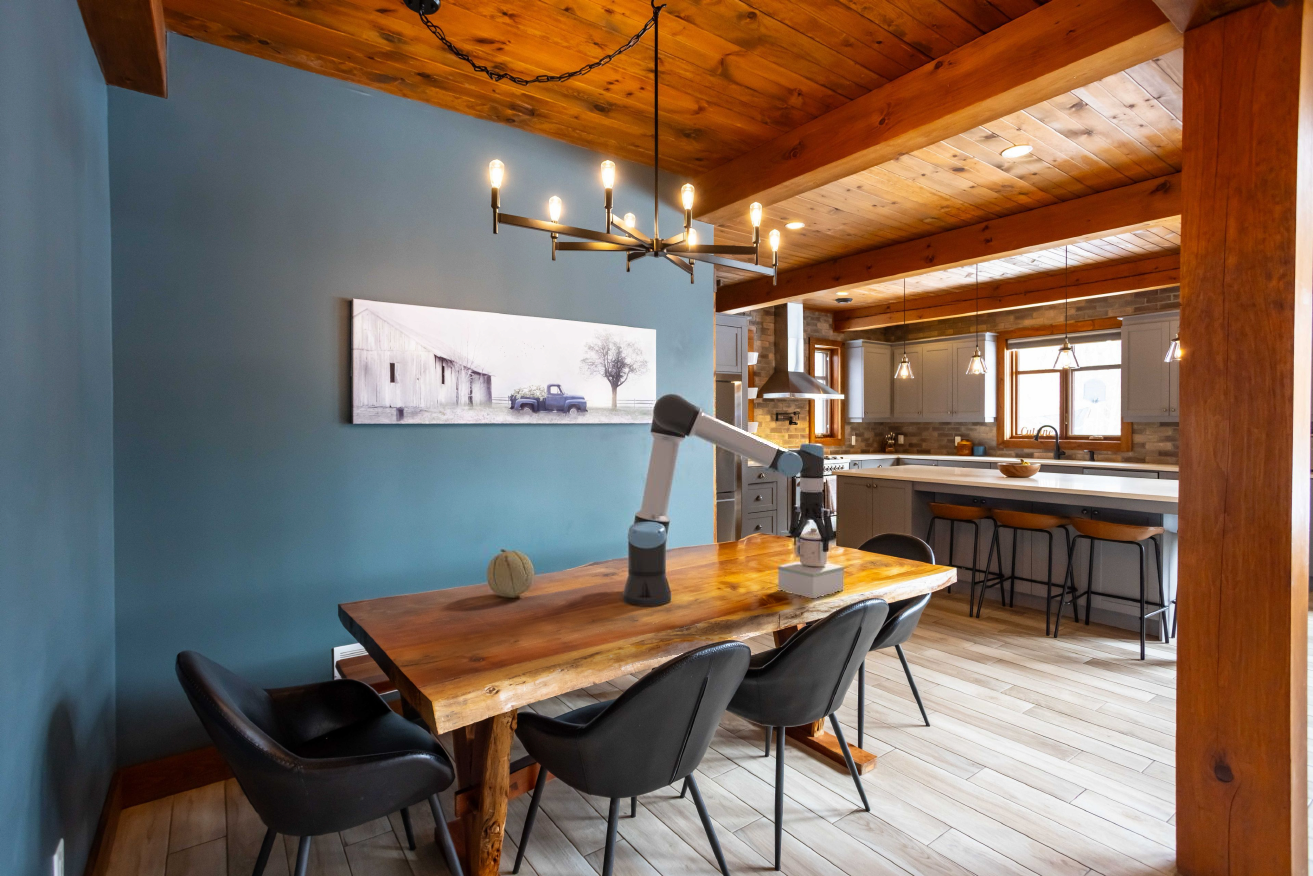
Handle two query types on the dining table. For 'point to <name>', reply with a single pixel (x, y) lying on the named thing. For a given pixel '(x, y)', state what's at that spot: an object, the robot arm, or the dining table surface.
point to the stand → (810, 579)
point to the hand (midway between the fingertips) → (810, 559)
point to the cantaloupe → (510, 573)
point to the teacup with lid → (810, 548)
